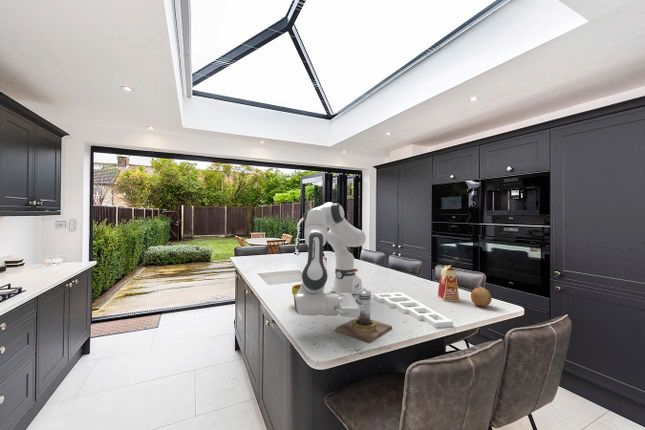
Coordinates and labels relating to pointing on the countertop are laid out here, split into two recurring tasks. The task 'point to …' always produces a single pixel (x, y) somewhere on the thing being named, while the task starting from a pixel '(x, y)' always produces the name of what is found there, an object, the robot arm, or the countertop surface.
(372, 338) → the ring stand
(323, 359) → the countertop surface
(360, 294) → the piston
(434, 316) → the holder
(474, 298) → the onion
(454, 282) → the milk carton
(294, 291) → the plant pot
